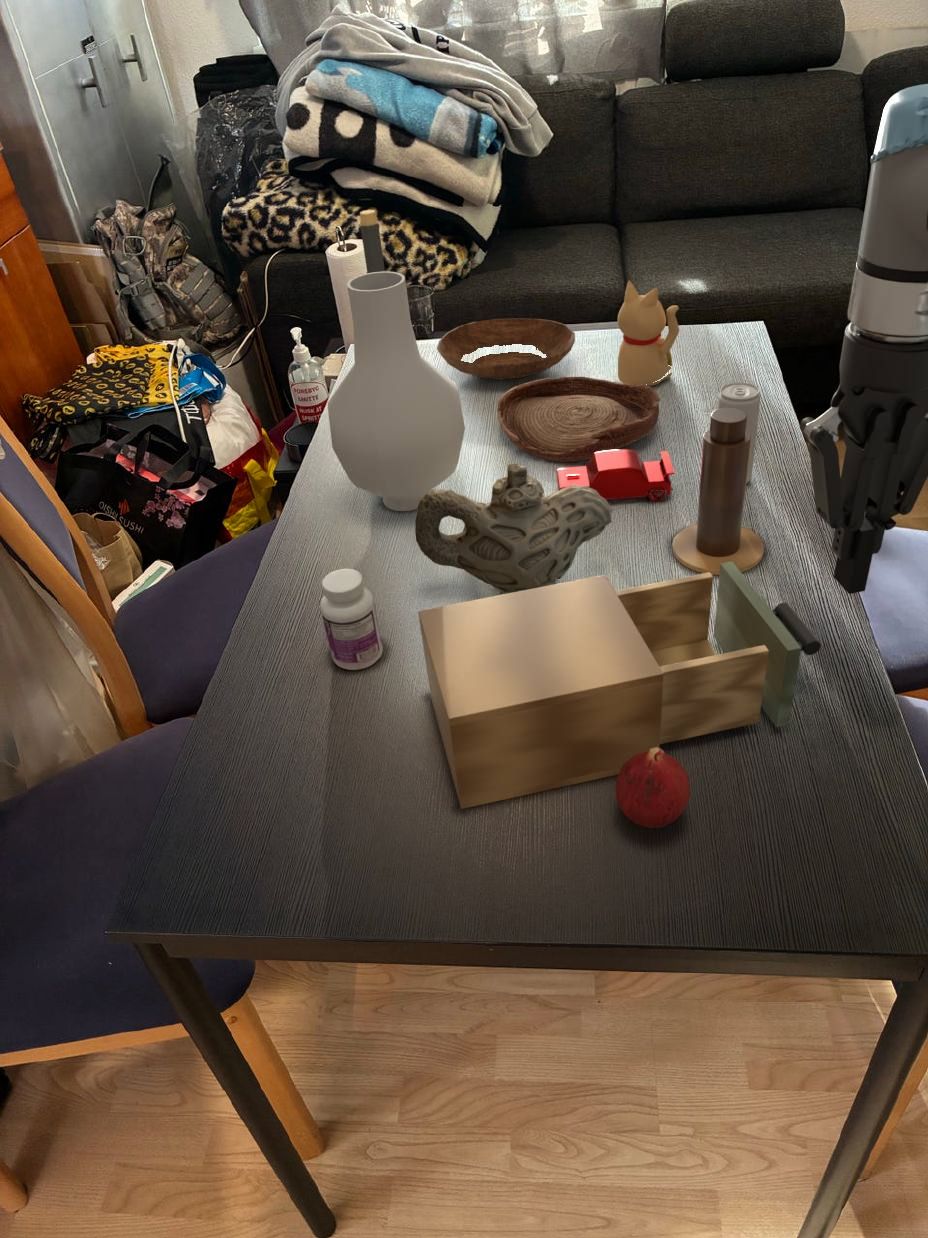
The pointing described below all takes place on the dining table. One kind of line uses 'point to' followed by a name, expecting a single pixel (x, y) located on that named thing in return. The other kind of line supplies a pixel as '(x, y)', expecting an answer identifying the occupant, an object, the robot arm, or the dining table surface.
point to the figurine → (645, 338)
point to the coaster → (703, 563)
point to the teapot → (512, 530)
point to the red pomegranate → (652, 788)
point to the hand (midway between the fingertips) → (849, 583)
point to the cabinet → (540, 688)
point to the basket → (576, 416)
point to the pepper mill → (723, 483)
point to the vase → (393, 401)
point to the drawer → (726, 683)
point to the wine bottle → (371, 242)
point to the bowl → (501, 332)
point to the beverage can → (747, 401)
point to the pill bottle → (350, 620)
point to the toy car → (621, 475)
